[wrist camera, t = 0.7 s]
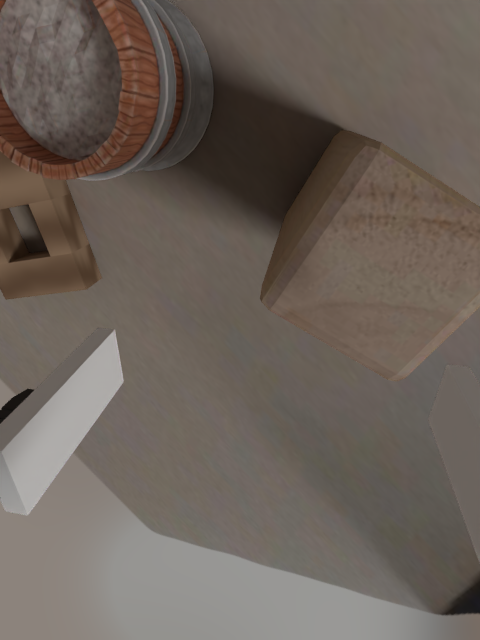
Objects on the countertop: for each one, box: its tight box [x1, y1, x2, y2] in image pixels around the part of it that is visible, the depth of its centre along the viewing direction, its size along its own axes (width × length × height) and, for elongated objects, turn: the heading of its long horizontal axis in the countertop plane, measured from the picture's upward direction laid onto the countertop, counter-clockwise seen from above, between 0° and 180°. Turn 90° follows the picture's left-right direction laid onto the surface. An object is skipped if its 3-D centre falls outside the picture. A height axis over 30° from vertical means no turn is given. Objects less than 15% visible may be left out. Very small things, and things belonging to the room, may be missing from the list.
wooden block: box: [260, 130, 480, 381], centre depth 28 cm, size 10×10×20 cm
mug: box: [0, 0, 214, 181], centre depth 27 cm, size 14×19×15 cm
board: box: [0, 151, 102, 299], centre depth 41 cm, size 20×11×4 cm, turn 11°
